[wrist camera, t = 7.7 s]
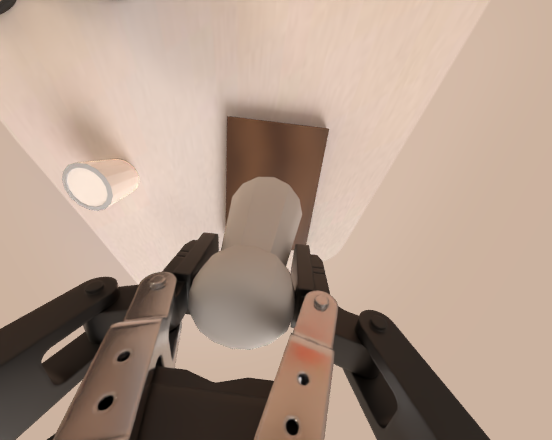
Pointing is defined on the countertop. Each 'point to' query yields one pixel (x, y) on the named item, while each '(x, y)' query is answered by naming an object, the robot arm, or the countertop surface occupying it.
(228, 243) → the salt shaker
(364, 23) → the countertop surface
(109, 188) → the white short cylinder
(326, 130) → the cutting board
